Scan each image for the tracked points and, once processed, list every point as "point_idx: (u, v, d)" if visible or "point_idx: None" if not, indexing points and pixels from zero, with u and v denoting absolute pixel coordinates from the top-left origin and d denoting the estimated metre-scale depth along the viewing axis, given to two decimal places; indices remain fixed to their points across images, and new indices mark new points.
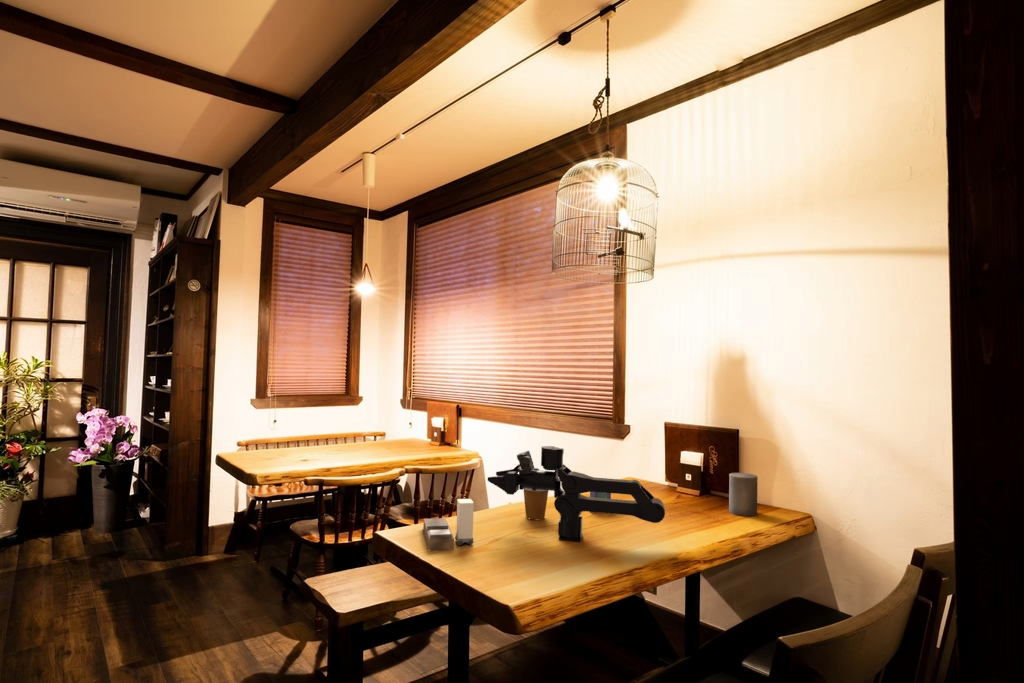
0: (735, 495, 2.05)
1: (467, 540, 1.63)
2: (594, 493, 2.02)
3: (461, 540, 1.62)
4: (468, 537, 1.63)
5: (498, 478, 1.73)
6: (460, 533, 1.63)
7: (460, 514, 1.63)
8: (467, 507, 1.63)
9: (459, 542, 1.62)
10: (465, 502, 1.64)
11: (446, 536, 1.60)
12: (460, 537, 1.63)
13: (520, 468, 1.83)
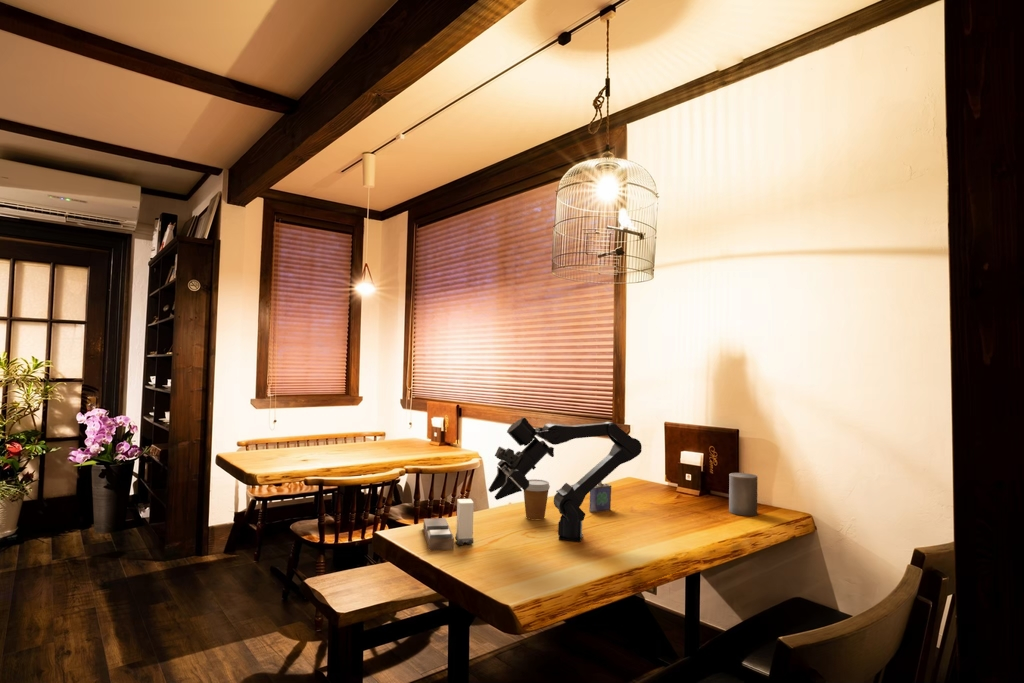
0: (735, 495, 2.05)
1: (467, 540, 1.63)
2: (594, 493, 2.02)
3: (461, 540, 1.62)
4: (468, 537, 1.63)
5: (504, 488, 1.62)
6: (460, 533, 1.63)
7: (460, 514, 1.63)
8: (467, 507, 1.63)
9: (459, 542, 1.62)
10: (465, 502, 1.64)
11: (446, 536, 1.60)
12: (460, 537, 1.63)
13: (502, 467, 1.74)
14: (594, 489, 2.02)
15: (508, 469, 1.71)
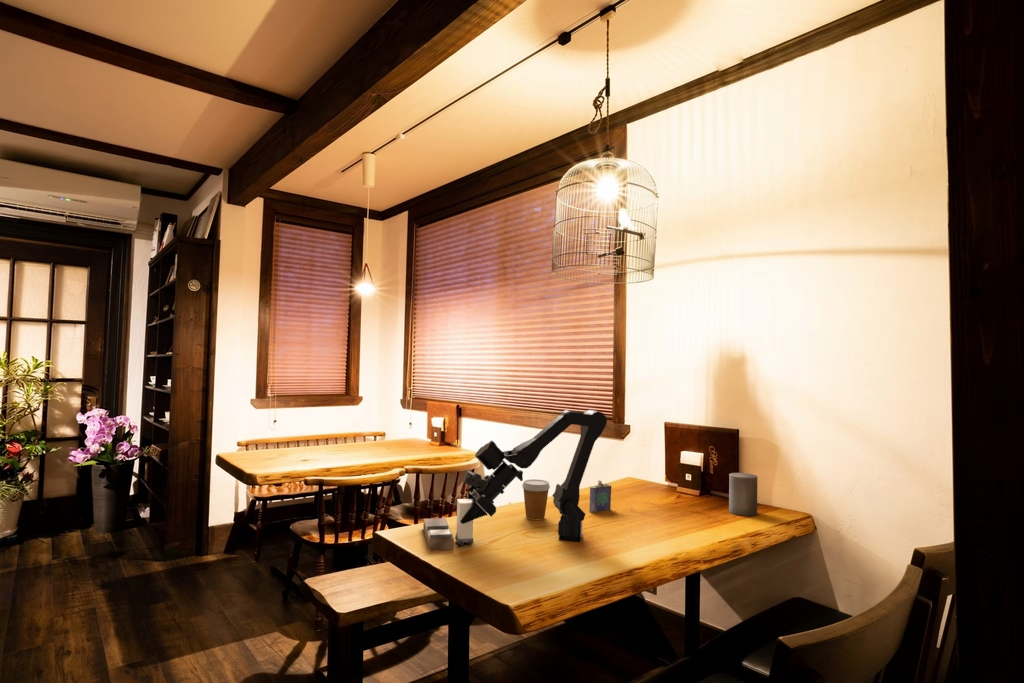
0: (735, 495, 2.05)
1: (467, 540, 1.63)
2: (594, 493, 2.02)
3: (461, 540, 1.62)
4: (468, 537, 1.63)
5: (470, 512, 1.62)
6: (460, 533, 1.63)
7: (460, 514, 1.63)
8: (467, 507, 1.63)
9: (459, 542, 1.62)
10: (465, 502, 1.64)
11: (446, 536, 1.60)
12: (460, 537, 1.63)
13: (472, 492, 1.70)
14: (594, 489, 2.02)
15: (478, 495, 1.67)
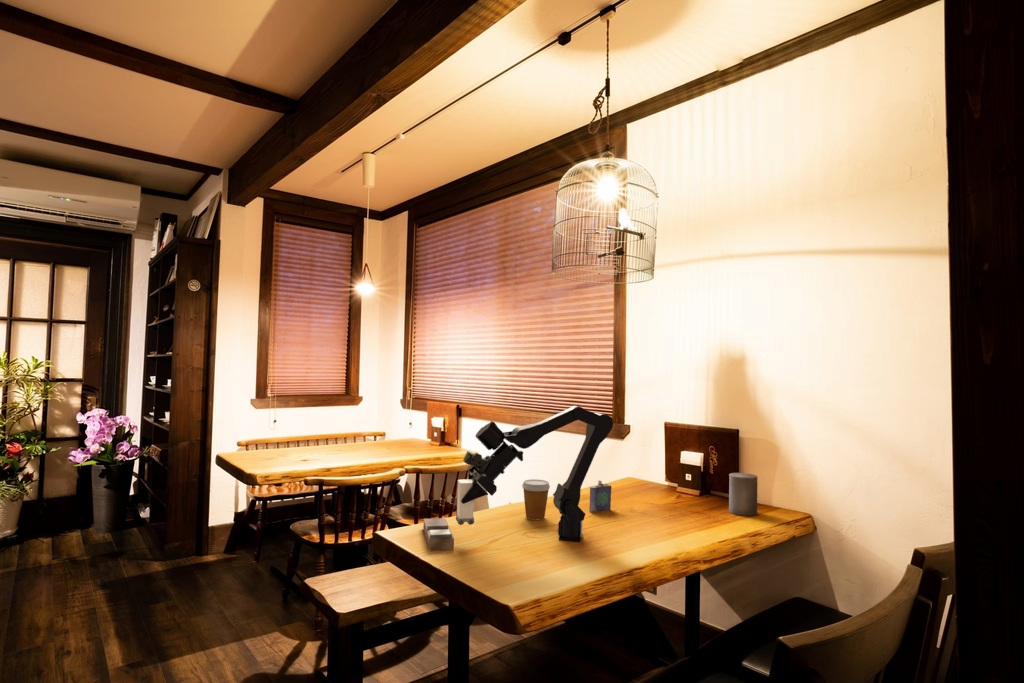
0: (735, 495, 2.05)
1: (468, 520, 1.63)
2: (594, 493, 2.02)
3: (462, 520, 1.63)
4: (469, 517, 1.63)
5: (470, 492, 1.62)
6: (461, 513, 1.63)
7: (461, 494, 1.63)
8: (468, 487, 1.63)
9: (460, 522, 1.62)
10: (465, 482, 1.64)
11: (446, 536, 1.60)
12: (461, 517, 1.63)
13: (473, 473, 1.70)
14: (594, 489, 2.02)
15: None
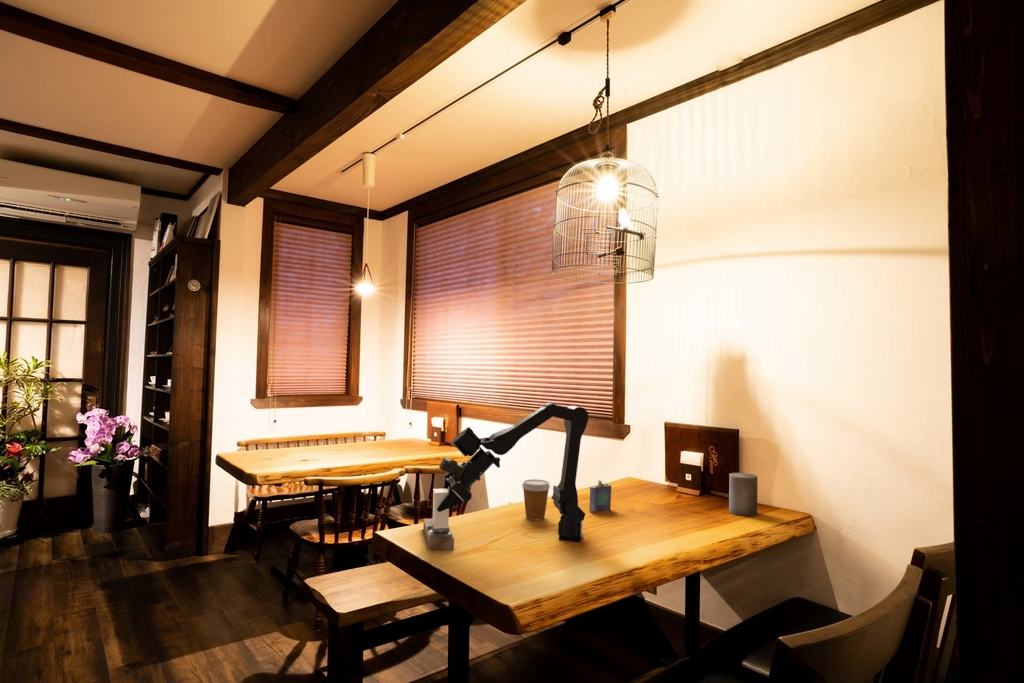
0: (735, 495, 2.05)
1: (443, 530, 1.61)
2: (594, 493, 2.02)
3: (437, 530, 1.61)
4: (444, 527, 1.62)
5: (446, 500, 1.59)
6: (436, 523, 1.61)
7: (435, 504, 1.61)
8: (443, 496, 1.62)
9: (435, 532, 1.61)
10: (440, 491, 1.63)
11: (446, 536, 1.60)
12: (436, 527, 1.61)
13: (449, 478, 1.70)
14: (594, 489, 2.02)
15: None
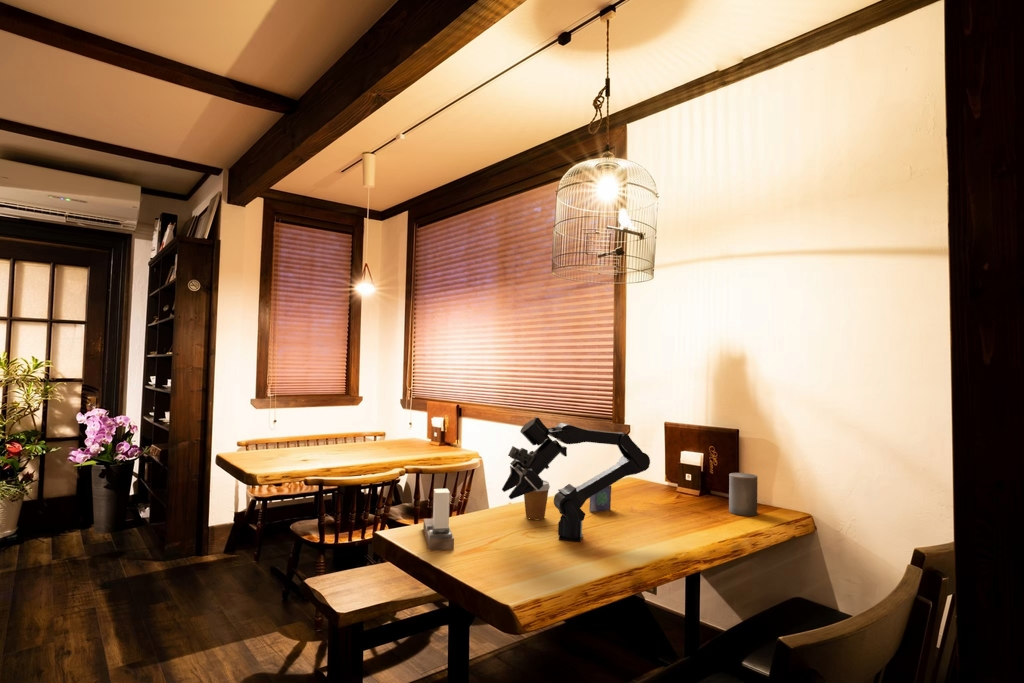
0: (735, 495, 2.05)
1: (443, 530, 1.61)
2: None
3: (437, 530, 1.61)
4: (444, 527, 1.62)
5: (518, 487, 1.63)
6: (436, 523, 1.61)
7: (436, 504, 1.61)
8: (443, 496, 1.62)
9: (435, 532, 1.61)
10: (441, 492, 1.63)
11: (446, 536, 1.60)
12: (436, 527, 1.61)
13: (515, 467, 1.75)
14: None
15: (521, 469, 1.72)
